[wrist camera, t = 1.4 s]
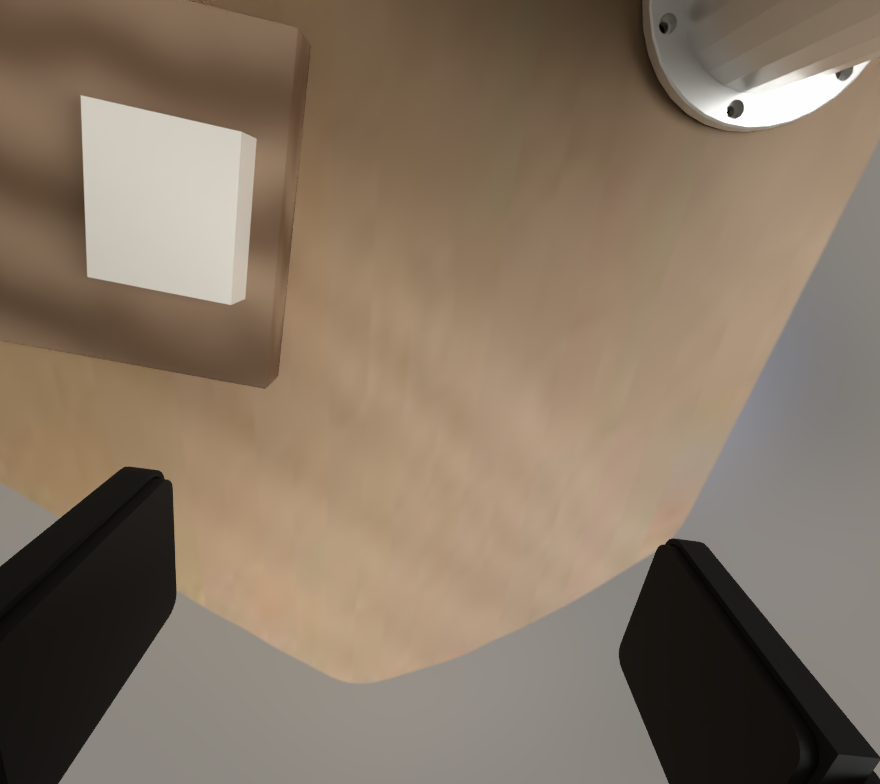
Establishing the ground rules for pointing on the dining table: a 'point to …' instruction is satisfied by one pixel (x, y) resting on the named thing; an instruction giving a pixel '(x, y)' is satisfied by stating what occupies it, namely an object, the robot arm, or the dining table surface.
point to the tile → (166, 201)
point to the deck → (62, 182)
